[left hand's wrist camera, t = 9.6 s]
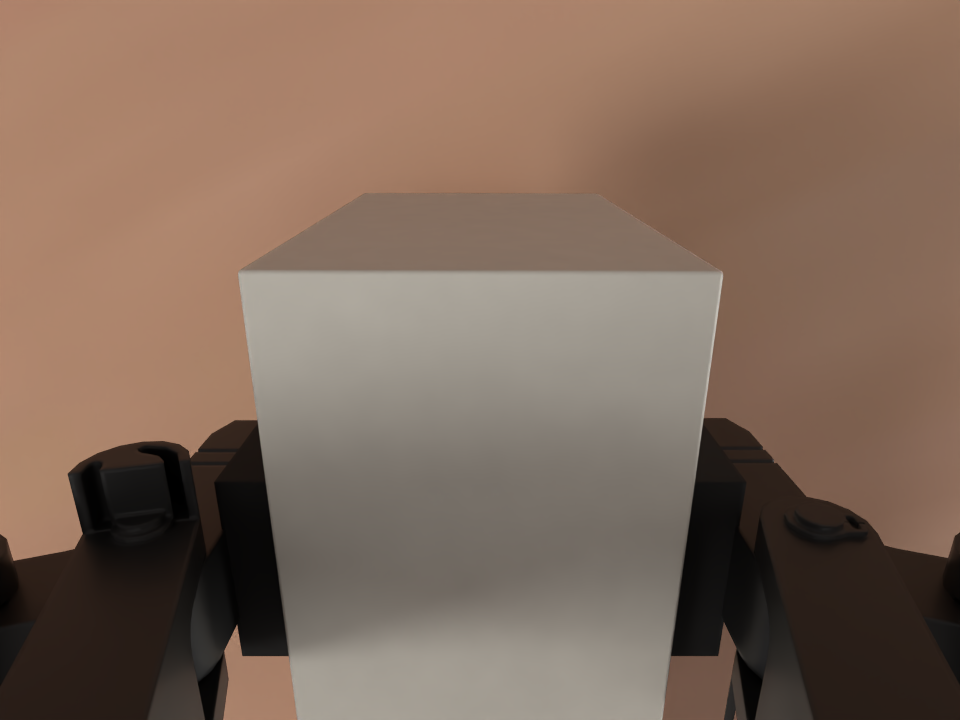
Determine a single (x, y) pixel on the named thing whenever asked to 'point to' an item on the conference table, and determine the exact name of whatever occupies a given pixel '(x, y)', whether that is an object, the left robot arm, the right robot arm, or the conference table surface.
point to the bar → (480, 453)
